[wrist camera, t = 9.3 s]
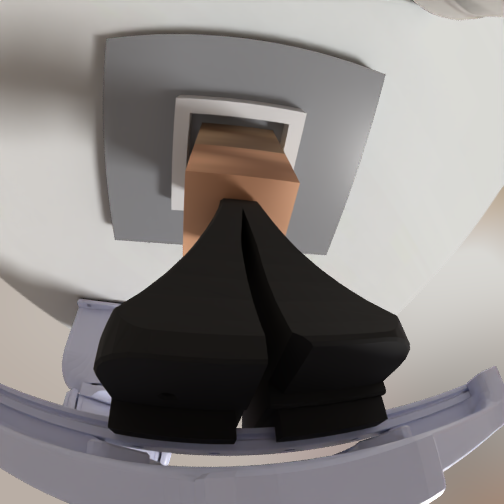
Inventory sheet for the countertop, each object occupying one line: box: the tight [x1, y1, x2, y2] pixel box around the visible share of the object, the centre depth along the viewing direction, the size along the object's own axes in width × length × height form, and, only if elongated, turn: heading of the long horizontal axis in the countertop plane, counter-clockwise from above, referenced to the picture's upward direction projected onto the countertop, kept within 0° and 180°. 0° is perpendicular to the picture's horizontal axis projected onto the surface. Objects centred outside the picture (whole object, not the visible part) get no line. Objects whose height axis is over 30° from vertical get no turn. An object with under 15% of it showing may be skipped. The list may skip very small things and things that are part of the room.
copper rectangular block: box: [183, 122, 300, 256], centre depth 13 cm, size 4×4×7 cm
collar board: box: [103, 34, 385, 255], centre depth 16 cm, size 16×14×3 cm
